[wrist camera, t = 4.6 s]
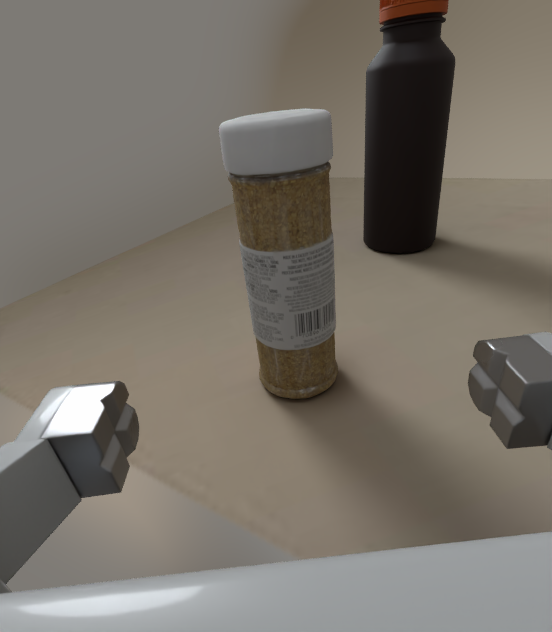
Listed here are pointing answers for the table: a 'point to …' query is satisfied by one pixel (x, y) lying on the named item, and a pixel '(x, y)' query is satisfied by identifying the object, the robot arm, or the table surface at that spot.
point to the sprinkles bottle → (286, 243)
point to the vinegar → (406, 126)
